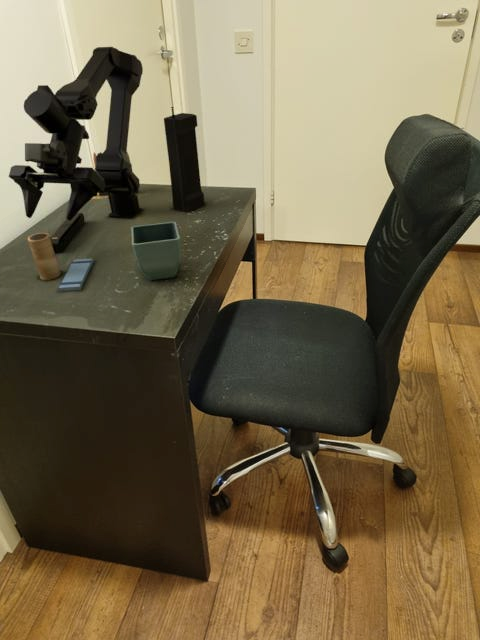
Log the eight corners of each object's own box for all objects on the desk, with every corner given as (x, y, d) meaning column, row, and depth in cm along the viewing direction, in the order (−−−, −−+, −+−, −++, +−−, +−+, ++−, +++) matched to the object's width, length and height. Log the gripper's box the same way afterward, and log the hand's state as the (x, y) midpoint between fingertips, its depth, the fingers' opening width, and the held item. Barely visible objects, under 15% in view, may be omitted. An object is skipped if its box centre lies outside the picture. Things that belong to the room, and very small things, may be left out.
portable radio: (190, 199, 129) (180, 101, 115) (207, 203, 126) (198, 102, 112) (171, 208, 124) (157, 106, 110) (188, 212, 121) (176, 108, 107)
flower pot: (185, 281, 91) (180, 238, 86) (140, 287, 90) (131, 244, 85) (180, 261, 98) (175, 220, 93) (138, 267, 97) (130, 226, 92)
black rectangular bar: (75, 222, 120) (72, 211, 118) (85, 221, 119) (83, 210, 118) (50, 253, 105) (46, 240, 103) (61, 252, 105) (58, 240, 103)
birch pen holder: (36, 279, 95) (23, 240, 90) (48, 269, 98) (36, 231, 93) (52, 281, 94) (40, 241, 89) (64, 271, 97) (53, 233, 92)
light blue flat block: (59, 291, 90) (58, 287, 90) (74, 263, 100) (73, 259, 100) (80, 290, 90) (79, 286, 90) (93, 261, 100) (92, 258, 100)
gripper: (-2, 123, 91) (-22, 198, 88) (84, 123, 86) (65, 202, 83) (35, 154, 101) (18, 222, 98) (113, 156, 97) (97, 227, 94)
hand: (48, 218), depth 93 cm, fingers open, 9 cm apart
